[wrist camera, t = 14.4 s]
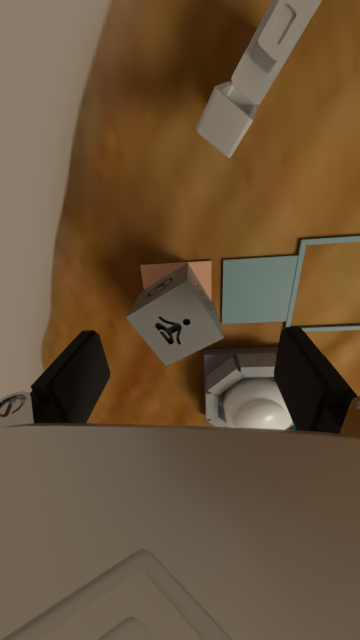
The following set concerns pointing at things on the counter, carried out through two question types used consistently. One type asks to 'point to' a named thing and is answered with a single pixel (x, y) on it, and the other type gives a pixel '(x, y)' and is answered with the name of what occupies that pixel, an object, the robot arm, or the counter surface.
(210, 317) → the dice cube
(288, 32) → the lighter
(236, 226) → the counter surface
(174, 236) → the counter surface
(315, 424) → the robot arm
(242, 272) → the sorting mat
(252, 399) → the dome
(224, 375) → the dome base
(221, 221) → the counter surface
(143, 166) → the counter surface
